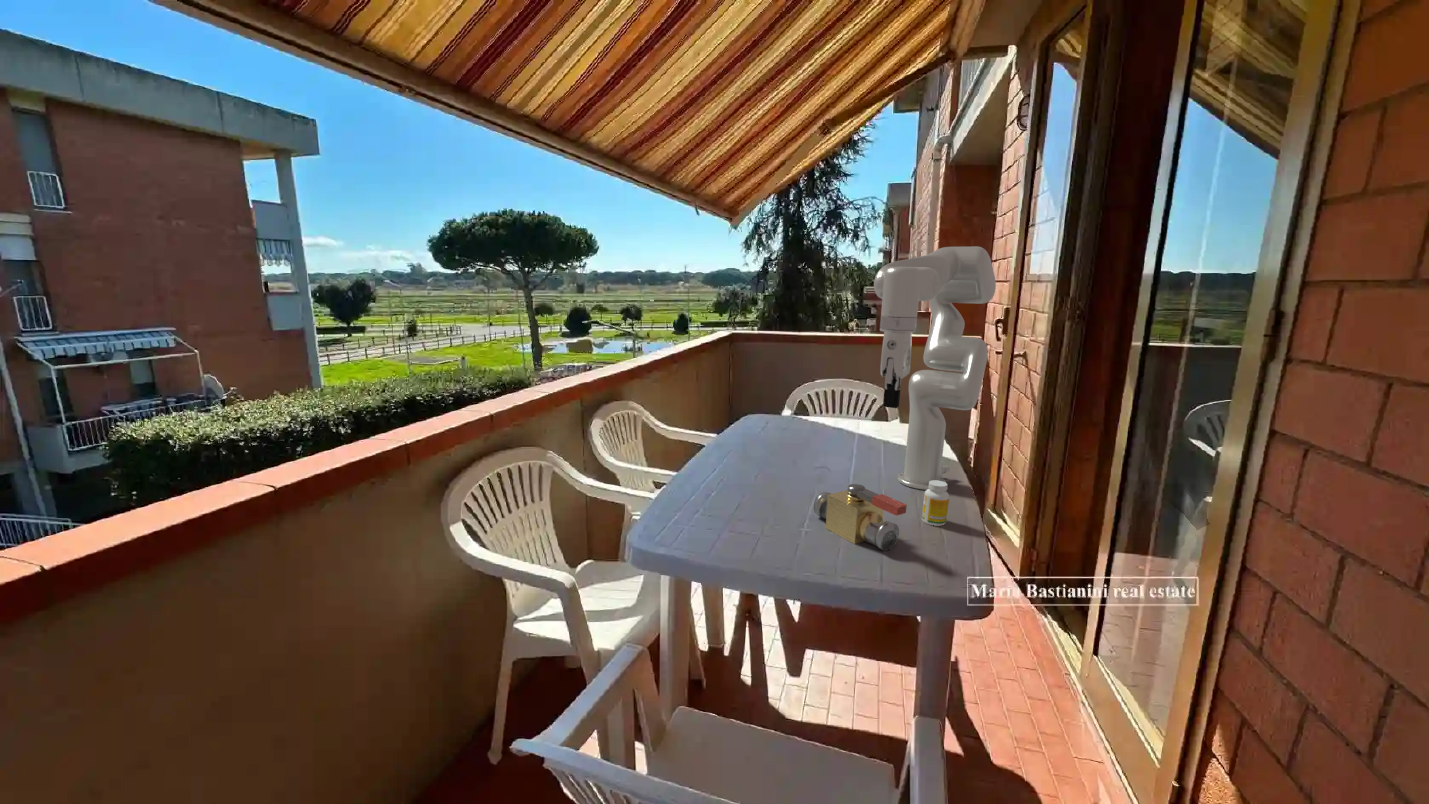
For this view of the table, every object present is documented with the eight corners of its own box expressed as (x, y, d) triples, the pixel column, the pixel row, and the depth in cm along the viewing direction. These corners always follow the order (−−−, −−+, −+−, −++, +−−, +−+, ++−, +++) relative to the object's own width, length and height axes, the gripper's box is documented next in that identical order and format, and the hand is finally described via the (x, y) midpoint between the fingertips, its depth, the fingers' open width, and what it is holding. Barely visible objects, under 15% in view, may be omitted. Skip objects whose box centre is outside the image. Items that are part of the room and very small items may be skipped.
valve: (809, 519, 132) (811, 483, 130) (835, 512, 136) (837, 477, 134) (874, 554, 115) (877, 514, 113) (901, 546, 119) (904, 507, 117)
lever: (844, 492, 124) (844, 484, 124) (856, 489, 126) (856, 482, 126) (894, 516, 112) (895, 507, 112) (907, 512, 114) (908, 504, 114)
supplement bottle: (916, 519, 133) (920, 480, 131) (933, 515, 135) (937, 477, 133) (934, 528, 128) (938, 488, 126) (951, 524, 131) (955, 485, 129)
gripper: (909, 328, 115) (901, 415, 119) (921, 323, 128) (914, 402, 132) (872, 326, 119) (865, 411, 123) (887, 322, 131) (881, 399, 135)
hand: (890, 406), depth 127 cm, fingers closed
